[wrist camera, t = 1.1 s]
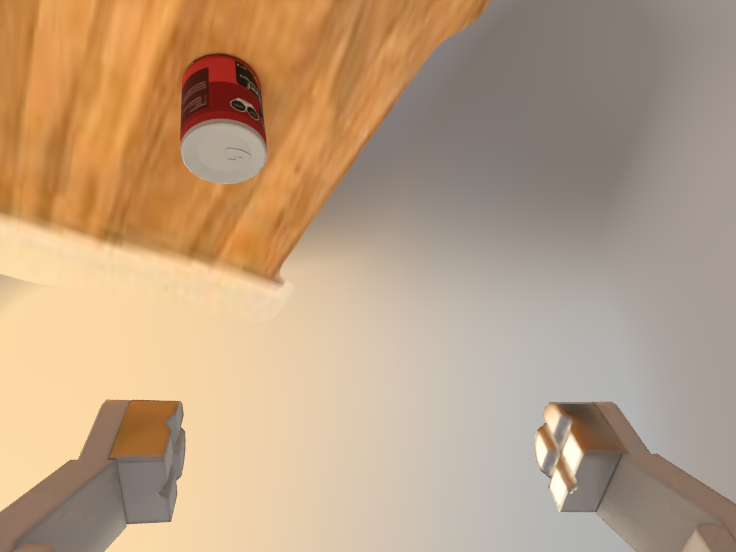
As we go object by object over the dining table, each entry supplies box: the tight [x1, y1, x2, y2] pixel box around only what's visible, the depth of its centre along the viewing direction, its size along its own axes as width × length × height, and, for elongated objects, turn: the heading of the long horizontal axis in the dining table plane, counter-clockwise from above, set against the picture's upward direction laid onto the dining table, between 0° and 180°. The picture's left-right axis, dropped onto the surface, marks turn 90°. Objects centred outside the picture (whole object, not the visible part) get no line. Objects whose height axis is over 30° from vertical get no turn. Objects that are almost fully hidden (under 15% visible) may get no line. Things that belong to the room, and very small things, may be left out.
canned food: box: [180, 55, 267, 184], centre depth 57 cm, size 8×8×11 cm
